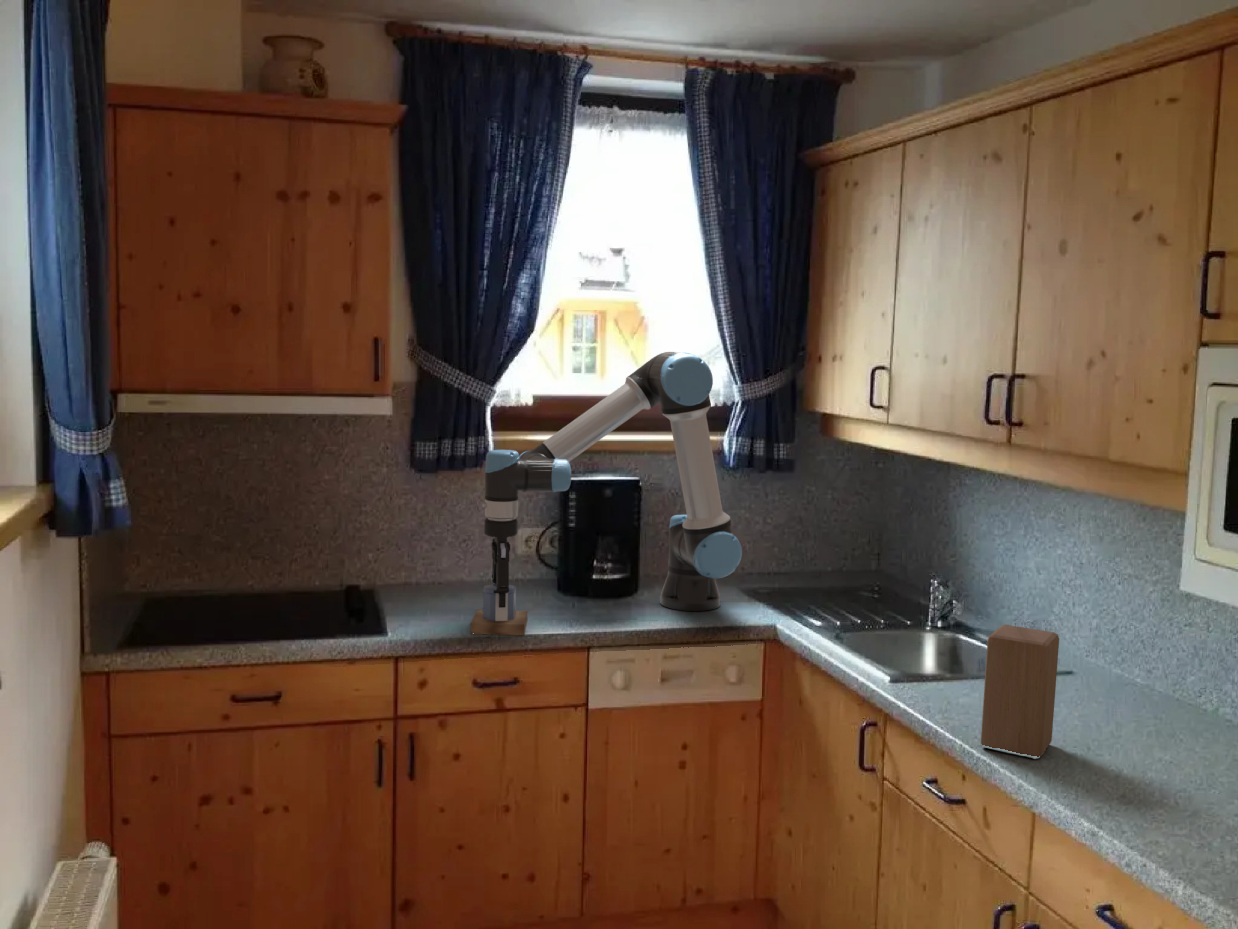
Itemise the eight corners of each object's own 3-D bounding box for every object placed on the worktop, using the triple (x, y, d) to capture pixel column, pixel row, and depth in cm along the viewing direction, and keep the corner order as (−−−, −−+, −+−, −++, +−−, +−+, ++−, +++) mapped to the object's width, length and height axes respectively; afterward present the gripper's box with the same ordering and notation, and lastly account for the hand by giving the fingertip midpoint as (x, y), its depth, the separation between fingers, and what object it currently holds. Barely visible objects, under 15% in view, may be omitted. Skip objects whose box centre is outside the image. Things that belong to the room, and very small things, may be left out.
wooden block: (978, 749, 194) (986, 635, 192) (993, 732, 203) (1000, 622, 200) (1040, 762, 189) (1048, 645, 187) (1052, 744, 197) (1060, 631, 195)
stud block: (527, 621, 269) (527, 590, 268) (524, 635, 257) (524, 602, 256) (476, 620, 269) (476, 589, 268) (470, 634, 257) (471, 601, 256)
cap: (517, 614, 266) (518, 584, 265) (511, 622, 259) (512, 591, 258) (486, 612, 267) (487, 583, 266) (480, 620, 260) (481, 590, 259)
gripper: (481, 510, 269) (480, 605, 272) (488, 526, 249) (486, 628, 252) (513, 510, 271) (511, 604, 273) (522, 525, 251) (520, 627, 254)
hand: (499, 615), depth 263 cm, fingers closed on cap, 7 cm apart
